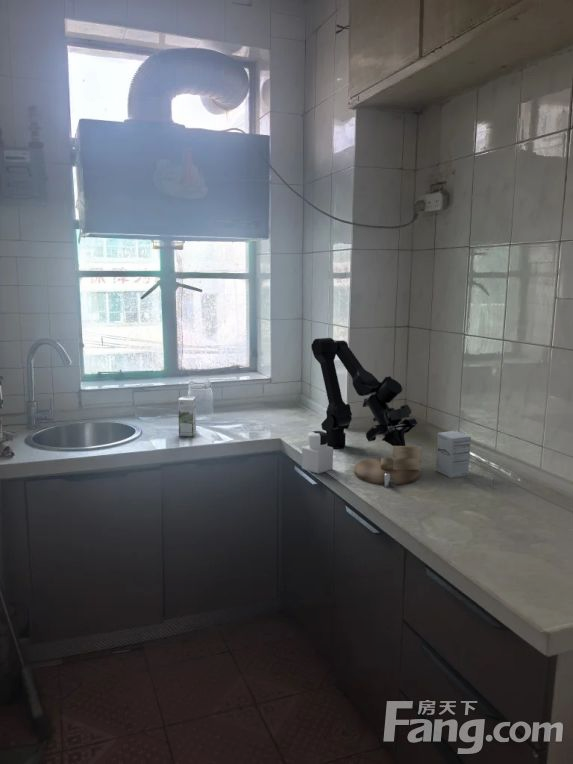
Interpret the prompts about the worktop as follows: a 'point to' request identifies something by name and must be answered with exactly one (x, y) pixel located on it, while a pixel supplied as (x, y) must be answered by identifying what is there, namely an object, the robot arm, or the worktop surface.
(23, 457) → the worktop surface
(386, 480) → the steel dowel
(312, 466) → the medicine bottle
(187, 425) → the syrup box
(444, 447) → the supplement box
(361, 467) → the walnut flange plate
